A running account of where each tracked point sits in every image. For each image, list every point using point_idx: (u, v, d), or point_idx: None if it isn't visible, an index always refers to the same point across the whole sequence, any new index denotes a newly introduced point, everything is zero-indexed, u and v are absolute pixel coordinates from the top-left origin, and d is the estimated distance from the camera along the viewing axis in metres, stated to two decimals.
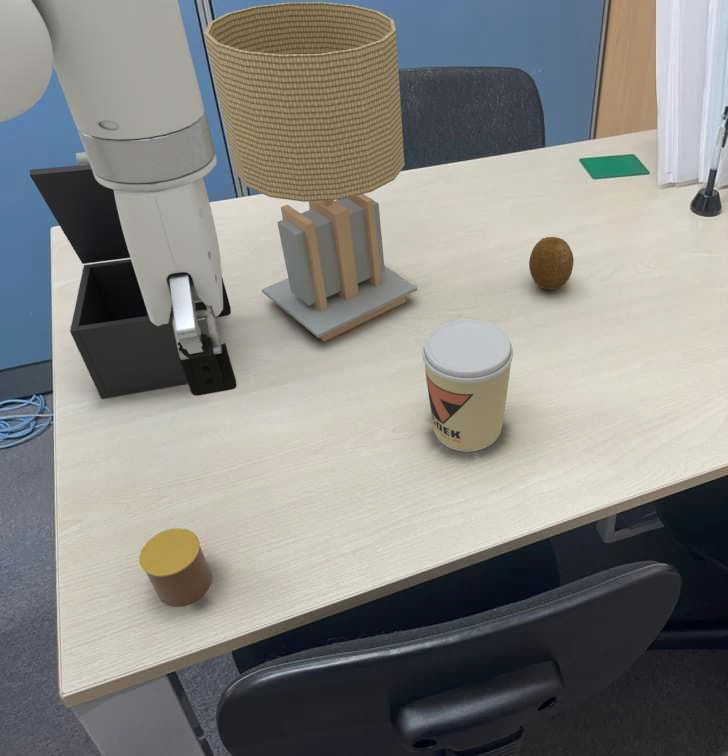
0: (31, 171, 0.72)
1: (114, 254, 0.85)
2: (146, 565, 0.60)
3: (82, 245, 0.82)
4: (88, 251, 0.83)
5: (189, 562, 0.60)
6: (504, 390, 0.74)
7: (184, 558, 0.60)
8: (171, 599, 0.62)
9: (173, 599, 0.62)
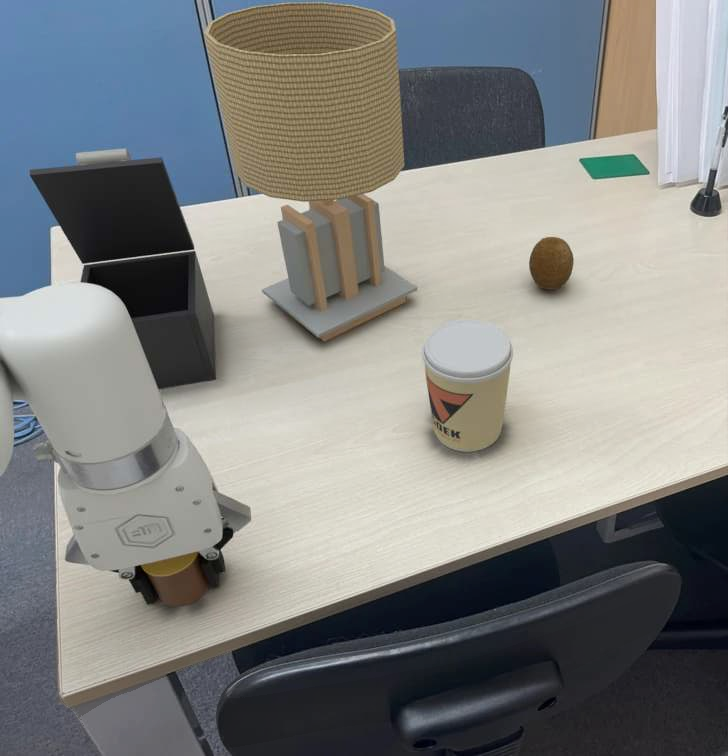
0: (31, 171, 0.72)
1: (114, 254, 0.85)
2: (146, 565, 0.60)
3: (82, 245, 0.82)
4: (88, 251, 0.83)
5: (189, 562, 0.60)
6: (504, 390, 0.74)
7: (184, 558, 0.60)
8: (171, 599, 0.62)
9: (173, 599, 0.62)
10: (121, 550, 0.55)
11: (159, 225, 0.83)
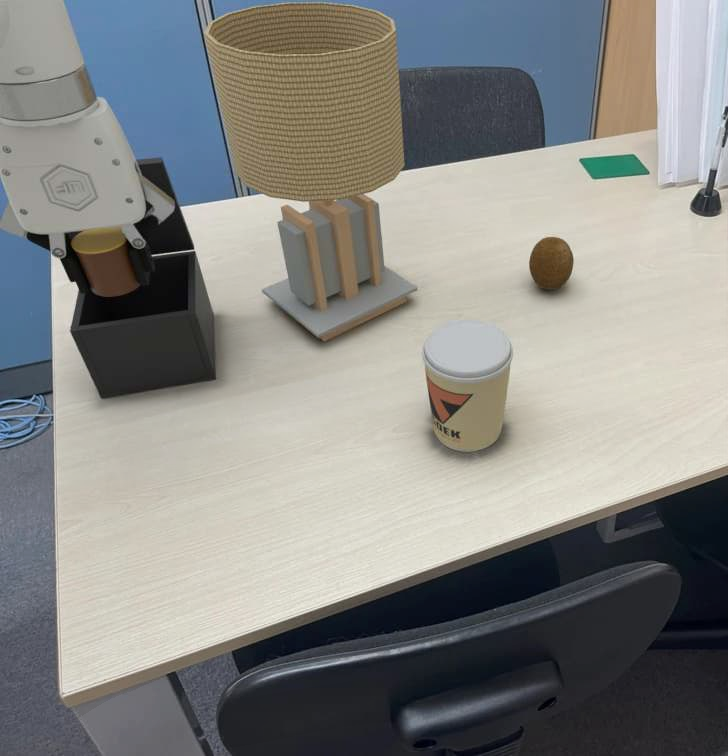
0: None
1: None
2: (76, 246, 0.65)
3: None
4: None
5: (116, 245, 0.65)
6: (504, 390, 0.74)
7: (112, 243, 0.65)
8: (102, 287, 0.67)
9: (104, 287, 0.67)
10: (48, 208, 0.60)
11: (159, 225, 0.83)
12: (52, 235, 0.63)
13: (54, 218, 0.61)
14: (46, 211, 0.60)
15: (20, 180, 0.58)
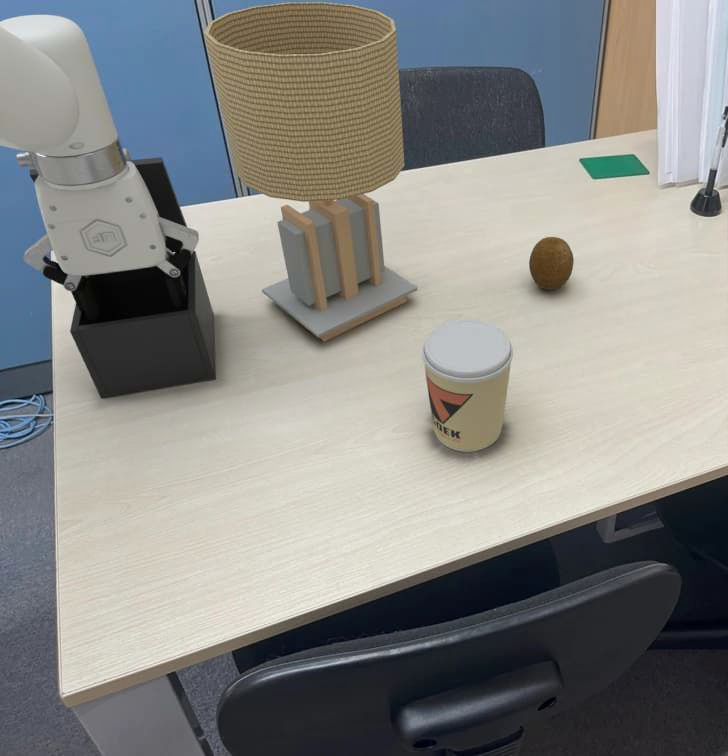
0: (31, 171, 0.72)
1: None
2: None
3: None
4: None
5: None
6: (504, 390, 0.74)
7: None
8: None
9: None
10: (85, 254, 0.72)
11: None
12: None
13: (90, 262, 0.72)
14: (83, 257, 0.72)
15: (63, 232, 0.70)
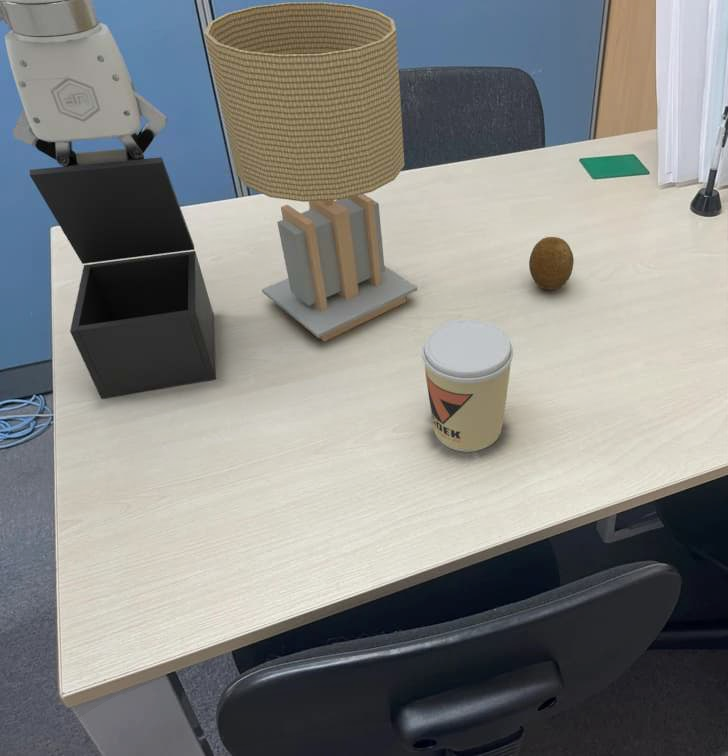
0: (31, 171, 0.72)
1: (114, 254, 0.85)
2: None
3: (82, 245, 0.82)
4: (88, 251, 0.83)
5: None
6: (504, 390, 0.74)
7: None
8: None
9: None
10: (57, 117, 0.71)
11: (159, 225, 0.83)
12: (57, 144, 0.74)
13: (62, 127, 0.72)
14: (56, 120, 0.71)
15: (34, 91, 0.69)
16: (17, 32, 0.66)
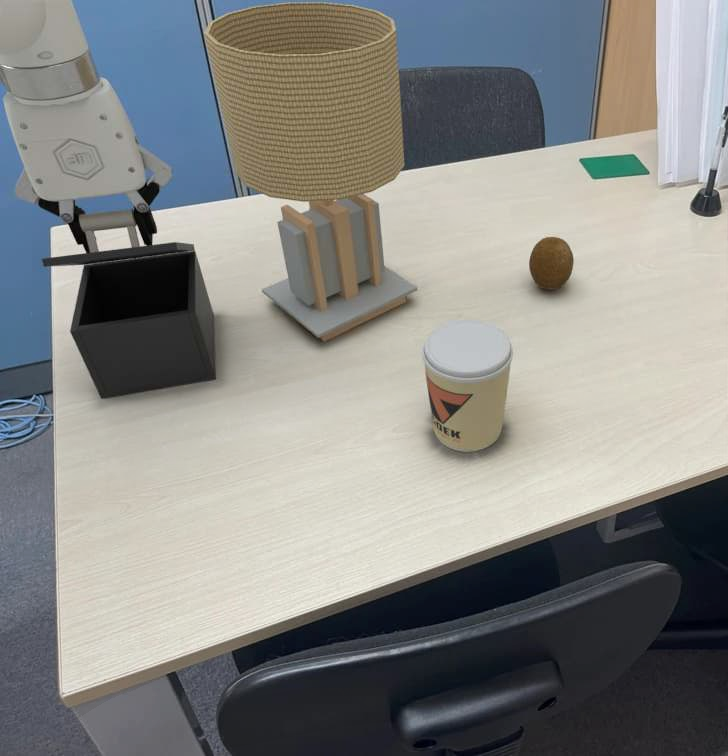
0: (44, 261, 0.71)
1: (116, 260, 0.85)
2: None
3: None
4: (91, 263, 0.83)
5: None
6: (504, 390, 0.74)
7: None
8: None
9: None
10: (60, 178, 0.69)
11: (164, 253, 0.83)
12: (61, 202, 0.71)
13: (66, 186, 0.69)
14: (59, 180, 0.69)
15: (36, 153, 0.67)
16: (16, 95, 0.63)
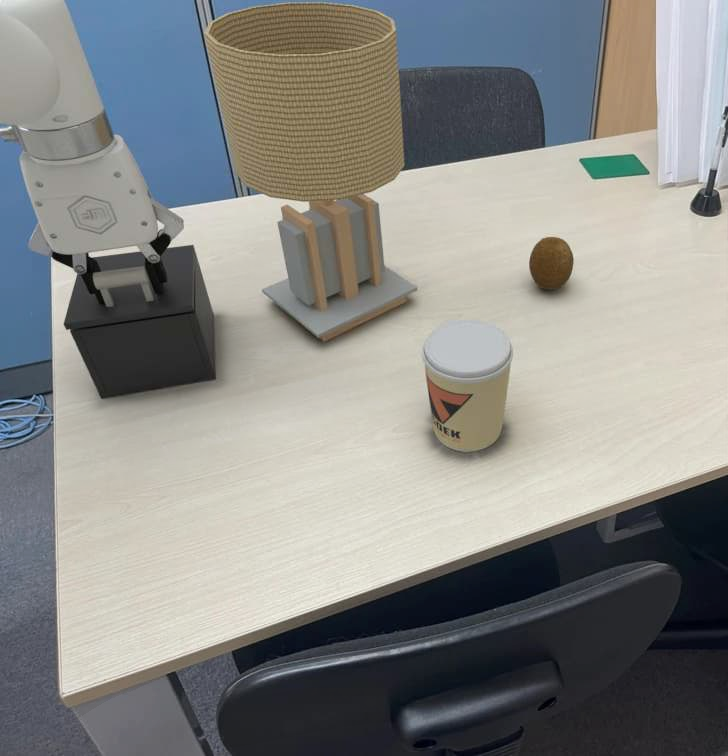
0: (66, 325, 0.74)
1: None
2: None
3: None
4: None
5: None
6: (504, 390, 0.74)
7: None
8: None
9: None
10: (74, 232, 0.70)
11: None
12: (74, 254, 0.72)
13: (79, 241, 0.70)
14: (73, 235, 0.70)
15: (50, 209, 0.68)
16: (32, 155, 0.64)
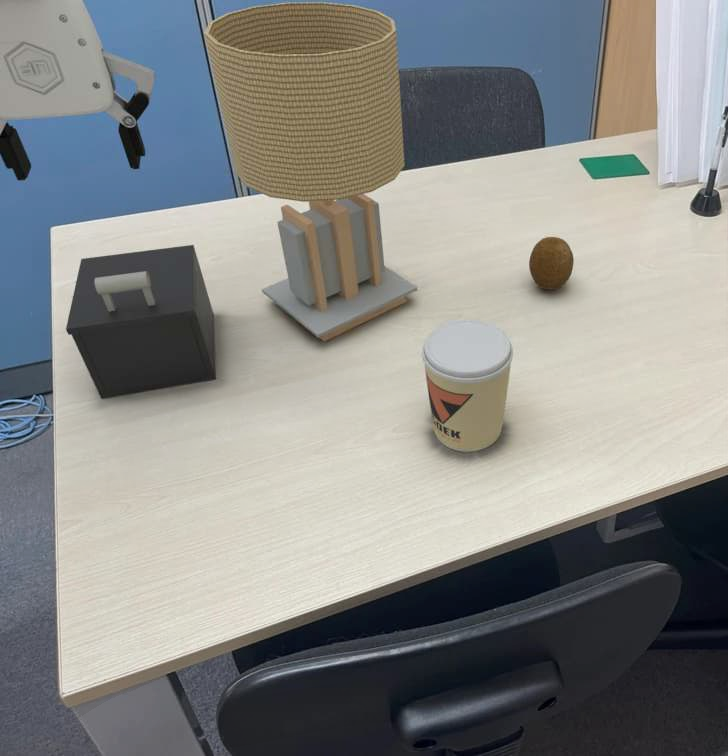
0: (68, 331, 0.74)
1: None
2: None
3: None
4: None
5: None
6: (504, 390, 0.74)
7: None
8: None
9: None
10: (13, 90, 0.60)
11: None
12: None
13: (19, 101, 0.60)
14: (11, 93, 0.60)
15: None
16: None
